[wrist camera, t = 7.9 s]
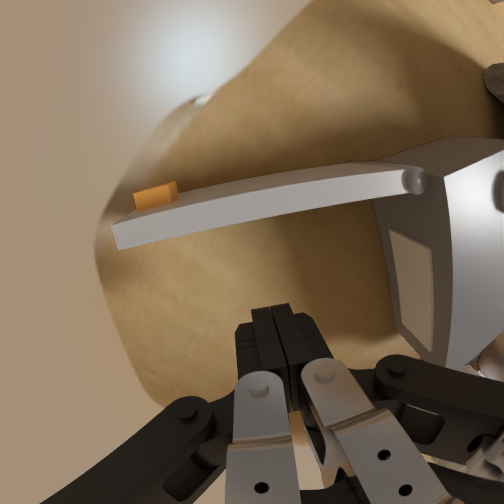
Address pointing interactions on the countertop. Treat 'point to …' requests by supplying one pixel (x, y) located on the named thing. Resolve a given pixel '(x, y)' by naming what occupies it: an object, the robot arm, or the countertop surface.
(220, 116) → the countertop surface
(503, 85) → the vintage camera
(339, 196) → the side door
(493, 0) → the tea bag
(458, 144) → the camera housing
